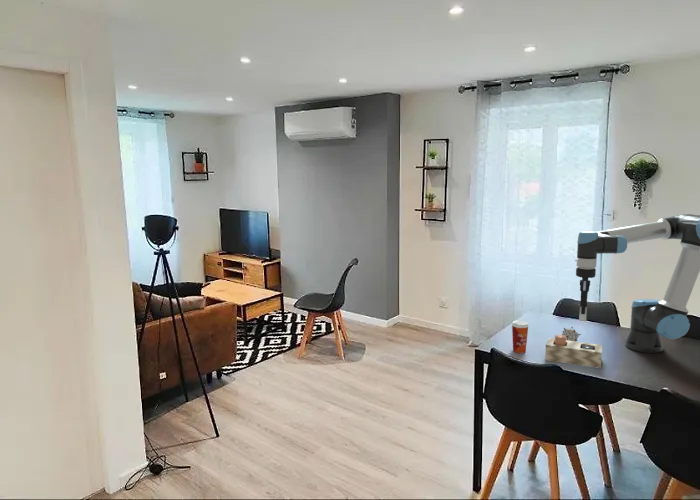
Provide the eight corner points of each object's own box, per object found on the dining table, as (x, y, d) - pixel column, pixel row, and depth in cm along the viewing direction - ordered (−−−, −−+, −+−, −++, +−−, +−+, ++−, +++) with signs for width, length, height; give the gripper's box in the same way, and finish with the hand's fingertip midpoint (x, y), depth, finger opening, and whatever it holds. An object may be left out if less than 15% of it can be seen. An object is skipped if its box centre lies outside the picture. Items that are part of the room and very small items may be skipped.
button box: (601, 360, 207) (602, 345, 206) (600, 368, 198) (601, 352, 197) (547, 352, 218) (548, 337, 216) (545, 359, 209) (545, 344, 208)
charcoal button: (593, 358, 206) (593, 346, 205) (592, 361, 202) (593, 349, 201) (581, 356, 208) (582, 344, 207) (580, 360, 204) (581, 348, 203)
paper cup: (519, 355, 215) (520, 326, 213) (507, 350, 222) (507, 321, 219) (531, 352, 218) (532, 323, 216) (519, 346, 225) (519, 319, 223)
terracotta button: (566, 347, 211) (566, 335, 210) (565, 350, 207) (565, 339, 206) (555, 345, 213) (555, 334, 212) (553, 349, 209) (554, 337, 208)
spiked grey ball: (573, 351, 227) (584, 340, 220) (556, 345, 228) (566, 333, 221) (573, 338, 233) (583, 326, 226) (556, 331, 234) (566, 319, 227)
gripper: (577, 264, 207) (573, 315, 211) (575, 269, 196) (572, 323, 199) (596, 265, 203) (592, 317, 207) (595, 271, 192) (591, 326, 196)
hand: (582, 320), depth 203 cm, fingers closed
